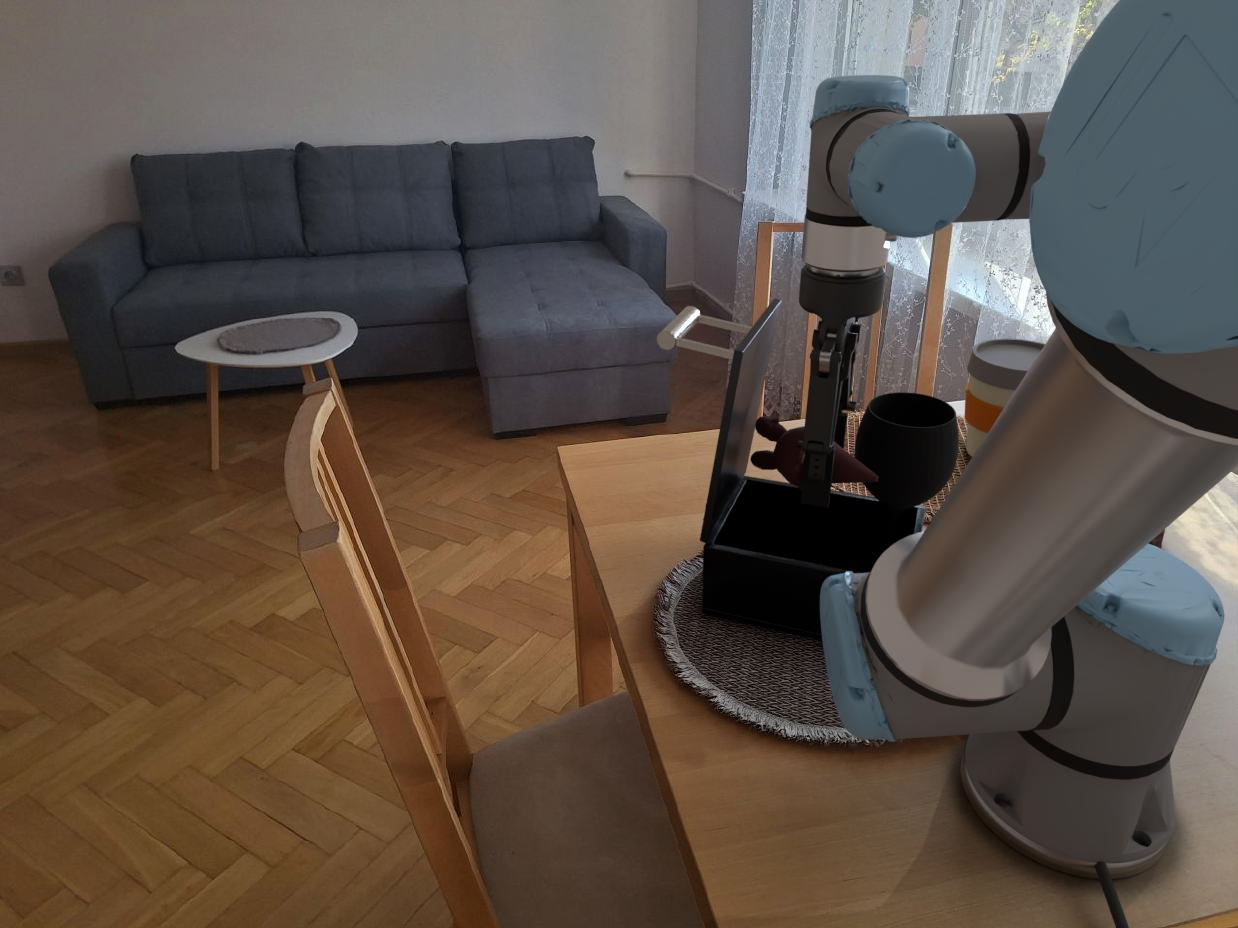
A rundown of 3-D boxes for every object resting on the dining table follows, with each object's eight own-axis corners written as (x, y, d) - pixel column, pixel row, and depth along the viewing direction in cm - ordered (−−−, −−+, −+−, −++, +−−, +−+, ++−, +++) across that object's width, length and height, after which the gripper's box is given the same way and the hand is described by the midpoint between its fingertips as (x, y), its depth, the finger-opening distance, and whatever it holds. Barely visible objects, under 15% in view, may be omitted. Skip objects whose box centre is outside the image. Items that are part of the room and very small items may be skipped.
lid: (781, 299, 86) (696, 280, 89) (743, 352, 74) (645, 328, 76) (745, 472, 97) (671, 451, 100) (707, 543, 85) (623, 517, 87)
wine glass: (835, 584, 93) (854, 424, 83) (846, 534, 101) (864, 384, 92) (933, 602, 90) (965, 437, 80) (936, 549, 98) (965, 394, 88)
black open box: (914, 570, 95) (926, 505, 91) (900, 658, 82) (912, 587, 78) (739, 537, 102) (742, 475, 98) (701, 613, 90) (703, 546, 85)
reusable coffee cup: (937, 436, 124) (954, 341, 116) (1018, 429, 125) (1039, 335, 117) (978, 477, 113) (999, 375, 105) (1066, 470, 114) (1093, 368, 106)
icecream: (903, 438, 81) (778, 405, 91) (863, 449, 76) (736, 412, 86) (891, 505, 83) (770, 465, 93) (851, 519, 78) (728, 476, 88)
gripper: (872, 302, 65) (843, 543, 76) (899, 241, 81) (872, 447, 92) (777, 294, 68) (763, 528, 79) (821, 236, 84) (804, 437, 95)
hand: (821, 484), depth 86 cm, fingers closed on icecream, 7 cm apart
